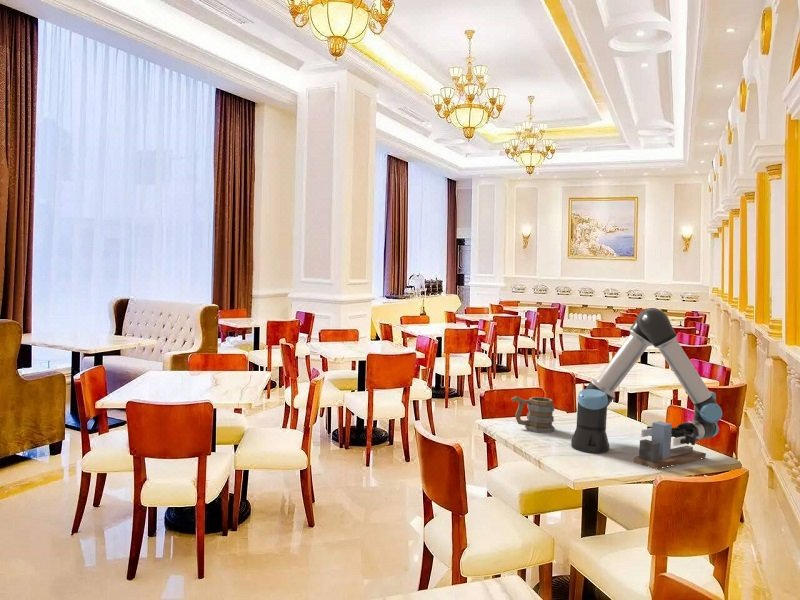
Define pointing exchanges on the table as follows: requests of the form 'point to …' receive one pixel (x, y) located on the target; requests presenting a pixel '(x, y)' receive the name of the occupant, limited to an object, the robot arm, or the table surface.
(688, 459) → the rail board
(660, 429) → the sleeve
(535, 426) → the tankard
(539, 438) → the table surface
